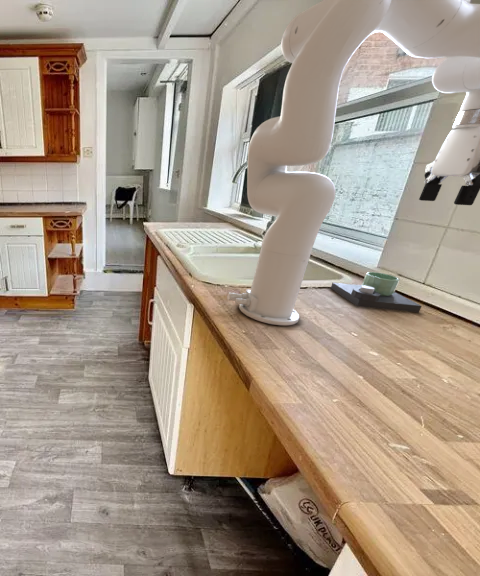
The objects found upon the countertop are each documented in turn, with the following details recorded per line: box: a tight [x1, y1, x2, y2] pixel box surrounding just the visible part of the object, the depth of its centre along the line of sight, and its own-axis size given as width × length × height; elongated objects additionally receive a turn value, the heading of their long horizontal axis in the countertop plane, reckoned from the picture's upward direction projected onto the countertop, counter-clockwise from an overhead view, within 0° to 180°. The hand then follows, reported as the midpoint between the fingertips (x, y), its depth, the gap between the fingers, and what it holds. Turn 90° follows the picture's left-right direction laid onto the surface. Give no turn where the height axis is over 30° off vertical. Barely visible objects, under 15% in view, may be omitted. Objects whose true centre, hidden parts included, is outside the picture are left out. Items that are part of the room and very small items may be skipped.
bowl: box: [361, 271, 401, 296], centre depth 83 cm, size 7×7×5 cm
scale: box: [330, 282, 422, 313], centre depth 83 cm, size 14×13×4 cm
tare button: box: [360, 285, 375, 294], centre depth 79 cm, size 3×3×2 cm
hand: (443, 202), depth 72 cm, fingers open, 9 cm apart
